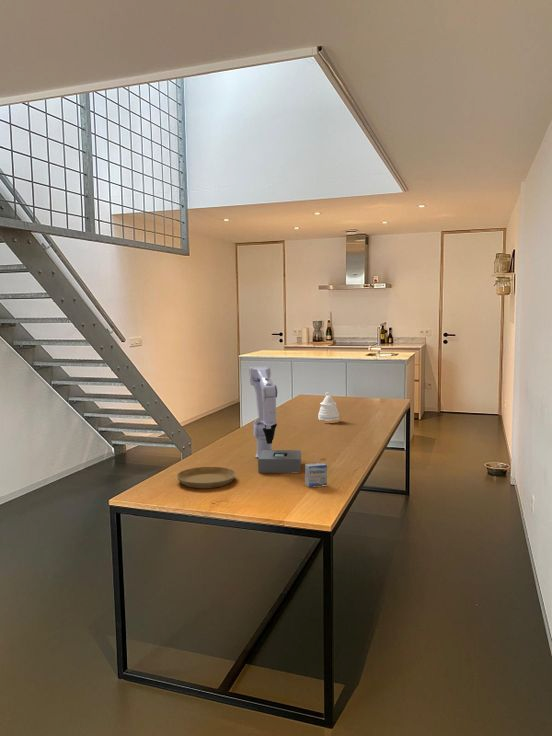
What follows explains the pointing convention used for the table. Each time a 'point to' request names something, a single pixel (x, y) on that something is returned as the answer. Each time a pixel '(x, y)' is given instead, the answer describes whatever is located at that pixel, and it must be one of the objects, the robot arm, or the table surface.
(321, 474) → the medicine box
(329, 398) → the honey pot
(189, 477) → the plant saucer
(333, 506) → the table surface
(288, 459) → the gray slotted box
